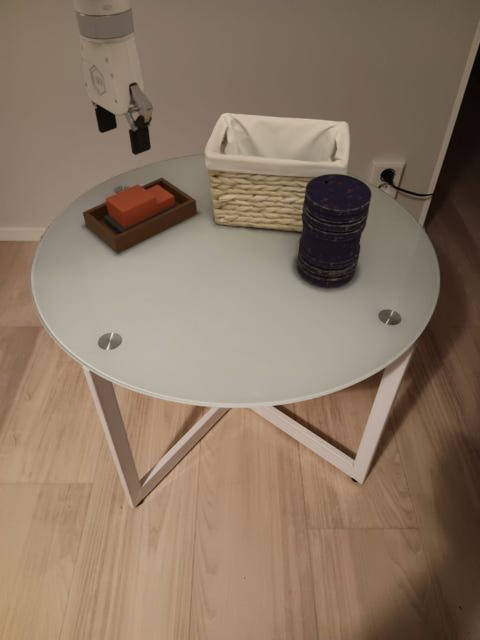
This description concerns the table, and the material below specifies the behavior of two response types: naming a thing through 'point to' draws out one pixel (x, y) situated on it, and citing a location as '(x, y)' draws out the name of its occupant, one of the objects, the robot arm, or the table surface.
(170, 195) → the shoe
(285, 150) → the basket
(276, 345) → the table surface
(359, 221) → the storage jar
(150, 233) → the tray
